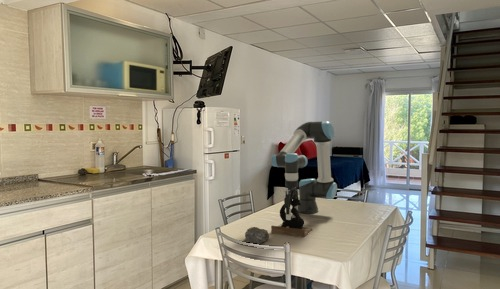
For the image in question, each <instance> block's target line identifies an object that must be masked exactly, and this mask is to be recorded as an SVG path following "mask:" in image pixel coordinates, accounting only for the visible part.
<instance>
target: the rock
mask: <svg viewBox="0 0 500 289" xmlns="http://www.w3.org/2000/svg"><path fill="white" fill-rule="evenodd" d="M269 237H270V233H269V232H268V230H266V229H264V228H259V227H256V226H252V227H250V228H247V229H246V232H244V242H246V243H247V242H250V243H249V244H254V243H257V244H256V245H261V244H263V243H264V242H266V241H267V240H268V239H269Z"/></svg>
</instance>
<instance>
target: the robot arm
mask: <svg viewBox="0 0 500 289" xmlns="http://www.w3.org/2000/svg"><path fill="white" fill-rule="evenodd" d="M334 137H335V127H334V126H333V124H332V123H331V122H330V121H307V122H305V123H303V124H301V125H300V126H298V127H297V128H296V129H295V130H294V131H293V134H292V136H291V137H290V139H289V140H288V141H287V142H286V144H285V145H284V147H283V148H281V150H280V151H279V153H278V154H272V155H271V157H270V163H271V166H272V167H277V168H284V170H285V171H284V172H285V173H284V178H285V180H284V182H285V183H284V185H285V186H284V187H286V188H287V190H285V192H284V193H285V195H284V196H285V197H284V199H285V204H284V203H283V205H284V208H285V212H286V220H291V217H292V213H291V209H292V206H291V201H293V200H294V199H299V200H300V204H301V205H298V206H295V207H294V208H296V209H297V210H298V212H299V214H316V213H318V212H319V207H318V204H317V202H316V199H323V200H324V199H325V200H333V199H334V198H335V197H336V195H337V191H338V190H337V189H338V184H337V183H336V182H334V178H333V177H332V170H331V152H330V151H331V150H330V143H331V142H332V139H334ZM307 139H312V140H313V143H314V144H316V158H317V160H316V162H317V173H318V175H317V176H318V177H317V179H316V178H306V179H305V178H304V179H300V181H299V169H303V168H305V167H307V165H308V158H307V156H305V155H304V154H298V153H295V152H296V151H297V150H298V148H299V147H300V146H301V145H302V143H303V142H305V141H306V140H307Z"/></svg>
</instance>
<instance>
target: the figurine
mask: <svg viewBox="0 0 500 289" xmlns="http://www.w3.org/2000/svg"><path fill="white" fill-rule="evenodd" d="M283 202H284V203H283V204H282V205H281V208H280V210H279V216H280V219H281V220H282V223H281V224H282V225H281V227H289V228H296V229H303V227H304V226H305V220H304V218H302V217H301V216H300V212H298V210H297V209H296V208H294V207H295V206H298V205H301V204H300V200H299V199H294V200H293V199H292V201H291V206H290V207H291V215H293V216H294V217H292V216H291V220H286V208H284V204H285V198H284V199H283Z"/></svg>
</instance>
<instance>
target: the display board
mask: <svg viewBox="0 0 500 289" xmlns="http://www.w3.org/2000/svg"><path fill="white" fill-rule="evenodd" d="M281 225H282V223H280V224H279V225H271V229H270V230H271V231H270V233H271V234H279V235H285V236H292V237H299V236H300V237H301V238H305V237H306V236H308V235H309V234H310V233H311V232H312V231H313V227H309V226H303V229H296V228H289V227H281ZM308 233H309V234H308ZM300 237H299V238H300Z"/></svg>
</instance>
